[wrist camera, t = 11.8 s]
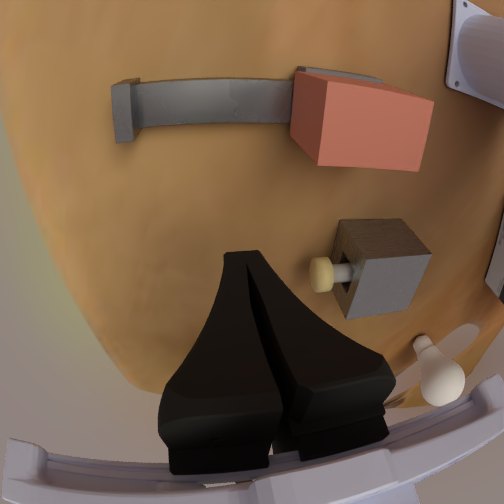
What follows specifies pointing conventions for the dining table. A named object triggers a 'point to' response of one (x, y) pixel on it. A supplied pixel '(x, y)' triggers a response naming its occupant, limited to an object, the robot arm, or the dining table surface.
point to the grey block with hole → (378, 266)
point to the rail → (198, 102)
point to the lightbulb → (437, 373)
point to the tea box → (497, 267)
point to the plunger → (328, 274)
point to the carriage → (358, 121)
